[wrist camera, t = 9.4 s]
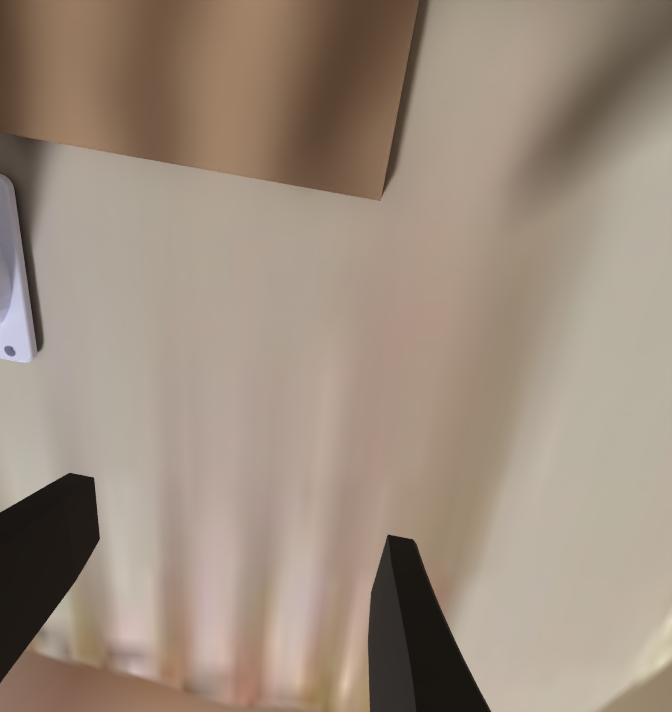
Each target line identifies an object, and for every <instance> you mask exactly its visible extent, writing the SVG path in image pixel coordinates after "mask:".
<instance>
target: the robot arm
mask: <svg viewBox="0 0 672 712" xmlns="http://www.w3.org/2000/svg"><path fill="white" fill-rule="evenodd" d="M11 347H13V348H14V349H15V351H16V352H15V351H13V350H12V348H11ZM36 356H37V347H36V340H35V333H34V326H33V318H32V311H31V304H30V297H29V290H28V283H27V276H26V269H25V262H24V255H23V248H22V241H21V234H20V226H19V219H18V212H17V205H16V198H15V191H14V187H13V184H12V182H11V181H10V180H9V179H8V178H7V177H6V176H5V175H2V174H0V358H2V359H7V360H12V361H18V362H23V363H27V362H29V361H31V360H33V359H35V358H36ZM99 540H100V536H99V525H98V515H97V504H96V493H95V483H94V478H93V477H88V476H83V475H78V474H73V473H69V474H67V475H65V476H63V477H61V478H59V479H58V480H56V481H54V482H52V483H51V484H49V485H47V486H45V487H44V488H42V489H40V490H38V491H37V492H35V493H33V494H32V495H30V496H28V497H26V498H25V499H23V500H21V501H19V502H18V503H16V504H14V505H13V506H11V507H9V508H7V509H6V510H4V511H2V512H0V683H1V681H2V680H3V678H4V677H5V676H6V674H7V673H8V671H9V670H10V669H11V668H12V666H13V665H14V664H15V662H16V661H17V660H18V658H19V657H20V656H21V654H22V653H23V651H24V650H25V649H26V648H27V646H28V645H29V643H30V642H31V641H32V639H33V638H34V637H35V635H36V634H37V633H38V631H39V630H40V629H41V627H42V626H43V625H44V623H45V622H46V621H47V619H48V618H49V617H50V615H51V614H52V613H53V611H54V610H55V608H56V607H57V606H58V604H59V603H60V602H61V600H62V599H63V598H64V596H65V595H66V593H67V592H68V591H69V589H70V588H71V587H72V585H73V584H74V582H75V581H76V579H77V578H78V576H79V574H80V573H81V571H82V569H83V568H84V566H85V564H86V563H87V561H88V559H89V557H90V556H91V554H92V552H93V550H94V548H95V547H96V545H97V543H98V541H99ZM368 656H369V691H370V712H491V710H490V709H489V707H488V705H487V703H486V701H485V699H484V697H483V696H482V694H481V692H480V690H479V688H478V686H477V684H476V682H475V680H474V678H473V676H472V674H471V672H470V670H469V668H468V666H467V664H466V662H465V660H464V658H463V656H462V654H461V652H460V650H459V648H458V646H457V644H456V642H455V639H454V637H453V635H452V633H451V631H450V628H449V626H448V624H447V622H446V619H445V617H444V615H443V613H442V610H441V608H440V606H439V603H438V601H437V599H436V596H435V594H434V591H433V589H432V586H431V583H430V581H429V578H428V576H427V573H426V570H425V568H424V565H423V562H422V559H421V556H420V554H419V551H418V547H417V544H416V543H415V541H414V540H413V539H408V538H403V537H397V536H392V535H388V536H387V539H386V543H385V546H384V550H383V553H382V557H381V560H380V564H379V567H378V571H377V574H376V578H375V581H374V585H373V588H372V591H371V603H370V617H369V633H368Z"/></svg>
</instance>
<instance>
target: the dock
mask: <svg viewBox="0 0 672 712" xmlns="http://www.w3.org/2000/svg"><path fill="white" fill-rule="evenodd" d="M418 4H419V0H0V133H4V134H10V135H15V136H21V137H27V138H32V139H38V140H43V141H49V142H55V143H60V144H66V145H71V146H77V147H83V148H88V149H94V150H99V151H105V152H110V153H116V154H122V155H127V156H133V157H138V158H144V159H150V160H155V161H161V162H166V163H172V164H178V165H183V166H189V167H194V168H200V169H206V170H211V171H217V172H222V173H228V174H233V175H239V176H245V177H250V178H256V179H261V180H267V181H273V182H278V183H284V184H289V185H295V186H301V187H306V188H312V189H317V190H323V191H329V192H334V193H340V194H345V195H351V196H357V197H362V198H368V199H373V200H379V201H381V196H382V191H383V186H384V181H385V176H386V170H387V165H388V160H389V155H390V150H391V144H392V139H393V134H394V129H395V124H396V118H397V113H398V108H399V103H400V98H401V93H402V87H403V82H404V77H405V72H406V67H407V61H408V56H409V51H410V46H411V41H412V35H413V30H414V25H415V20H416V15H417V10H418Z"/></svg>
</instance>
